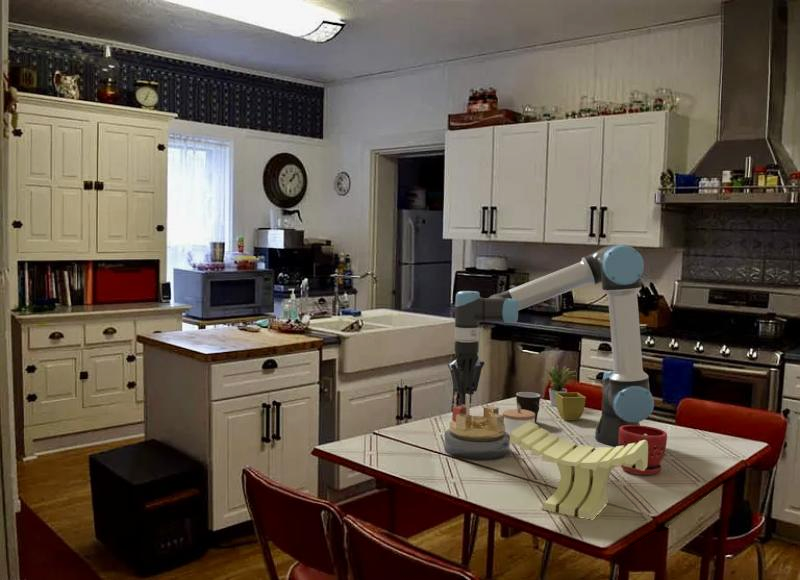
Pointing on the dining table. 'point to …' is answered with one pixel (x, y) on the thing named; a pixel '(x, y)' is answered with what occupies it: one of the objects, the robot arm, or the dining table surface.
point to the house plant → (558, 383)
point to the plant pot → (653, 438)
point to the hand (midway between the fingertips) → (465, 414)
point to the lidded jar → (517, 418)
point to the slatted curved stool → (579, 468)
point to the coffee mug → (528, 402)
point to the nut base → (476, 448)
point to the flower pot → (570, 405)
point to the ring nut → (477, 425)
